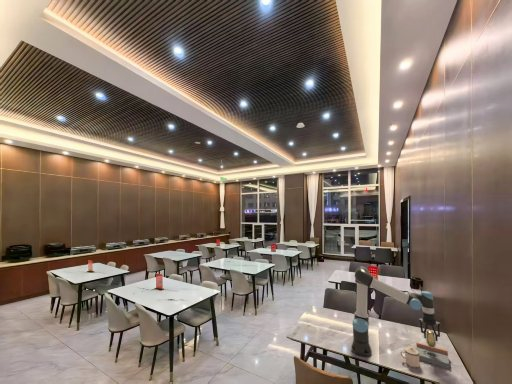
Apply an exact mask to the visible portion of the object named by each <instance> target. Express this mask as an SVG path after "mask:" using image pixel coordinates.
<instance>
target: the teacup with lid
mask: <svg viewBox="0 0 512 384" xmlns="http://www.w3.org/2000/svg"><path fill="white" fill-rule="evenodd" d="M402 353H404V355H405V356H404V355H403V354H402ZM400 356H401V357H402V358H403V359H405V363H406V364H407V366H410V367H412V368H419V367H420V364H421V363H420V360H419V352H418V351H417V350H416V348H414V347H413V346H410V347H405V348H404V350H401V351H400Z"/></svg>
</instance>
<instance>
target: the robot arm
mask: <svg viewBox="0 0 512 384" xmlns="http://www.w3.org/2000/svg"><path fill="white" fill-rule="evenodd" d="M354 279H355V281H354V282H355V283H356V304H355V305H356V306H355V307H356V309H355V311H354V314H353V315H354V316H353V320H352V332H353V333H352V339H353V340H352V343H351V351H352V353H353V354H355V355H356V356H359V357H364V358H366V357H367V358H368V357H371V356H372V353H373V352H372V348H371V345H370V337H369V326H370V321H369V320H370V315H369V314H368V288H370V289H371V288H372V289H375V290H377V291H379V292H381V293H383V294H385V295H387V296H389V297H391V298H393V299H395V300H397V301H399V302H401V303H403V304H405V305H407V306H409V307H410V308H411V309H413V310H414V311H420V309H422V318H419V319H418V321H419V325H420V332H421V334H423V338H424V339H425V341H426V343H425V344H426V345H428V341H427V331H428V330H427V329H428V326H431V327H432V332H434V340H435V347H437V342H438V337H440V338H441V330H440V326H441V322H439V321H437V320H436V316H435V305H434V296H433V295H434V294H433V293H432V292H430V291H426V290H423V291H421V292H420V293H416V292H409V291H408V292H407V291H406V292H404V291H403V290H400V289H398V288H396V287H394V286H391V285H389V284H387V283H385V282H383V281H381V280H379V279H377V278H375V276H374V275H372V274H371V272H370V270H369V269H368V268H367V267H365V266H358V267H357V268H356V269H355V272H354ZM423 322H424V323H425V325H424V327H423ZM435 325H436V326H437V331H436V328H435ZM423 328H424V330H423Z"/></svg>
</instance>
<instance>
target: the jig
mask: <svg viewBox="0 0 512 384" xmlns="http://www.w3.org/2000/svg"><path fill="white" fill-rule="evenodd" d="M415 345H416V346H415V347H416V348H415V350H417V351H418V352H419V361H422V362H426V363H428V364H431V365H435V366H439V367H441V368H445V369H447V370H448V369H449V370H450V361H449V353H448V352H449V351H448V349H444V348H440V347H438V346H435V347H430V346H428V344H426V343H422V342H418V341H416V343H415Z"/></svg>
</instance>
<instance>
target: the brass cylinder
mask: <svg viewBox="0 0 512 384" xmlns="http://www.w3.org/2000/svg"><path fill="white" fill-rule="evenodd" d="M426 333H427V341H428V344H427V345H428V346H430V347H436V346H435V340H434V335H435V334H434V331H433V330H426Z"/></svg>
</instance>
